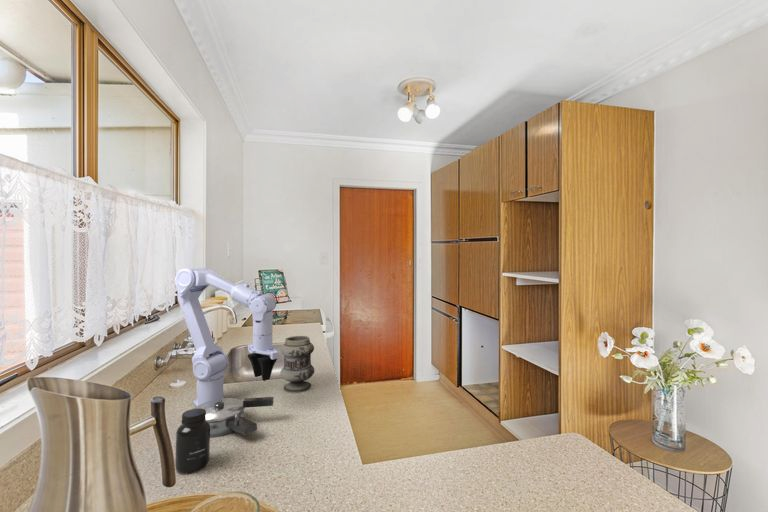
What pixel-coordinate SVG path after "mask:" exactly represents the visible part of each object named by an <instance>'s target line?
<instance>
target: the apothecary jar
mask: <svg viewBox="0 0 768 512" xmlns="http://www.w3.org/2000/svg"><path fill="white" fill-rule="evenodd" d="M284 340H285V341H284V344H282V346H281V348H280V353H281V354H282V355H283V367H282V368H281V370H280V372H279V373H280V374H279V375H280V377H281V378H282V379H283V381H286V382H287V383H286V384H285V385H284V386H283V391H285V392H286V393H290V394H292V393H293V394H294V393H296V394H297V393H302V392H306V391H308V390H310V389H311V388H312V384H311V383H310V382H309V381H308V380H309V379H311V378H312V377H313V375H314V374H315V368H314V366H313V365H312V362H311V361H312V360H311V357H312V353H313V352H314V351H315V346H314V344H313V343H312V342H311V341H310V337H309V336H306V335H294V336H287V337H286V338H285V339H284Z"/></svg>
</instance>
